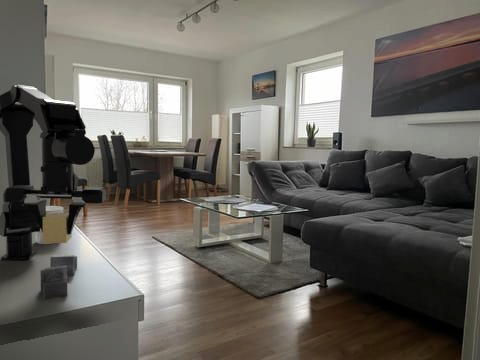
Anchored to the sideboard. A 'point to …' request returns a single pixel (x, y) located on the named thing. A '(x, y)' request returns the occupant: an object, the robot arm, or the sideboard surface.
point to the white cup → (48, 210)
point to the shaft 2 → (65, 262)
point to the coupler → (56, 228)
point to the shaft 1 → (53, 282)
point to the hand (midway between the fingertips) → (57, 234)
